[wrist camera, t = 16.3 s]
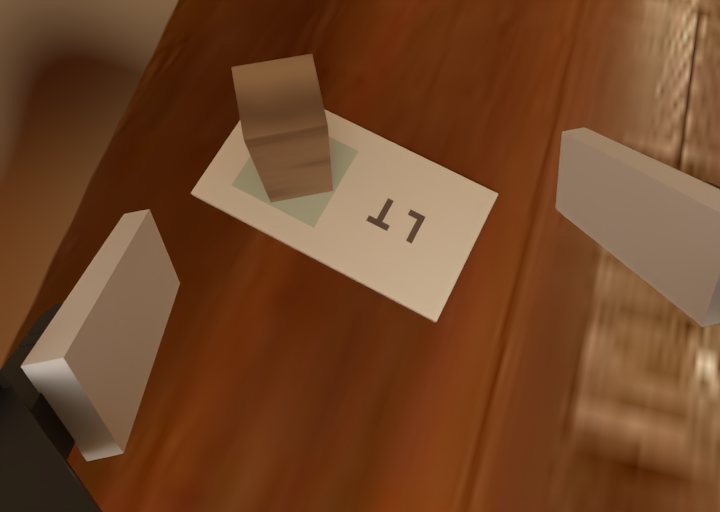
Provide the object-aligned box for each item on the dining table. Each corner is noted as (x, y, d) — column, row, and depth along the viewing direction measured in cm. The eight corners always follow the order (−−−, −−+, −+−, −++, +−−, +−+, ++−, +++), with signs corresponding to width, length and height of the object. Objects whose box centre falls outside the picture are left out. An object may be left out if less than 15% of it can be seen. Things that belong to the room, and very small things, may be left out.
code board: (267, 84, 48) (266, 80, 48) (496, 196, 46) (498, 193, 45) (192, 195, 45) (190, 192, 44) (435, 322, 43) (436, 321, 42)
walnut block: (260, 146, 46) (231, 67, 34) (321, 135, 46) (312, 53, 35) (270, 202, 44) (243, 139, 33) (332, 190, 45) (327, 124, 33)
